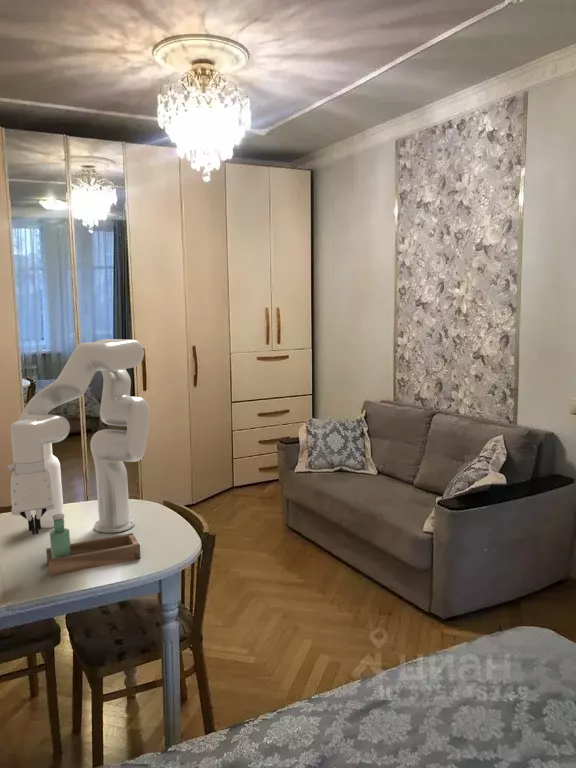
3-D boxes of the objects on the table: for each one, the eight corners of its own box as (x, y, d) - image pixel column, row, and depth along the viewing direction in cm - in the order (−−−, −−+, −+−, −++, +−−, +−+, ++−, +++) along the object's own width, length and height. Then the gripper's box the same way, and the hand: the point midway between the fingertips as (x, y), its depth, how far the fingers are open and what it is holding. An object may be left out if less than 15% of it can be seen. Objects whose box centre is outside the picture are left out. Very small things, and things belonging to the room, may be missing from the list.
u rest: (47, 561, 178) (46, 548, 177) (133, 545, 188) (132, 533, 187) (50, 576, 169) (49, 561, 168) (140, 558, 179) (139, 545, 178)
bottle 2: (51, 564, 176) (47, 514, 174) (70, 561, 178) (66, 511, 176) (53, 571, 171) (49, 520, 169) (72, 568, 173) (69, 516, 171)
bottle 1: (56, 517, 213) (49, 430, 208) (69, 522, 208) (63, 433, 203) (34, 524, 207) (26, 434, 202) (47, 530, 202) (39, 438, 197)
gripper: (-2, 474, 161) (5, 542, 164) (60, 466, 167) (65, 532, 170) (-2, 467, 168) (4, 532, 171) (58, 459, 174) (63, 523, 177)
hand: (35, 532), depth 171 cm, fingers closed
